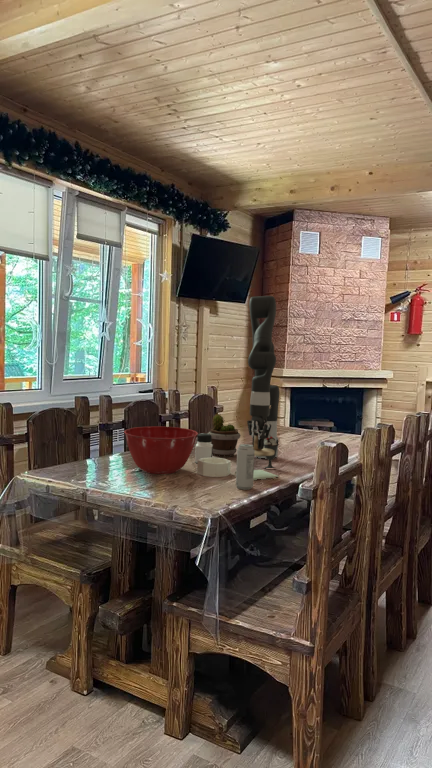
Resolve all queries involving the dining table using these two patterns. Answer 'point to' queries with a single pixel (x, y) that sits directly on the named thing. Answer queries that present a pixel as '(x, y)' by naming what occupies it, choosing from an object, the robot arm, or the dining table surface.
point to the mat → (262, 475)
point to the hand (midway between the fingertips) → (257, 447)
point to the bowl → (214, 467)
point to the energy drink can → (245, 466)
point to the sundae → (271, 444)
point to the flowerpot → (223, 438)
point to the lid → (261, 451)
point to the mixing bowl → (160, 448)
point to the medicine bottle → (203, 447)
